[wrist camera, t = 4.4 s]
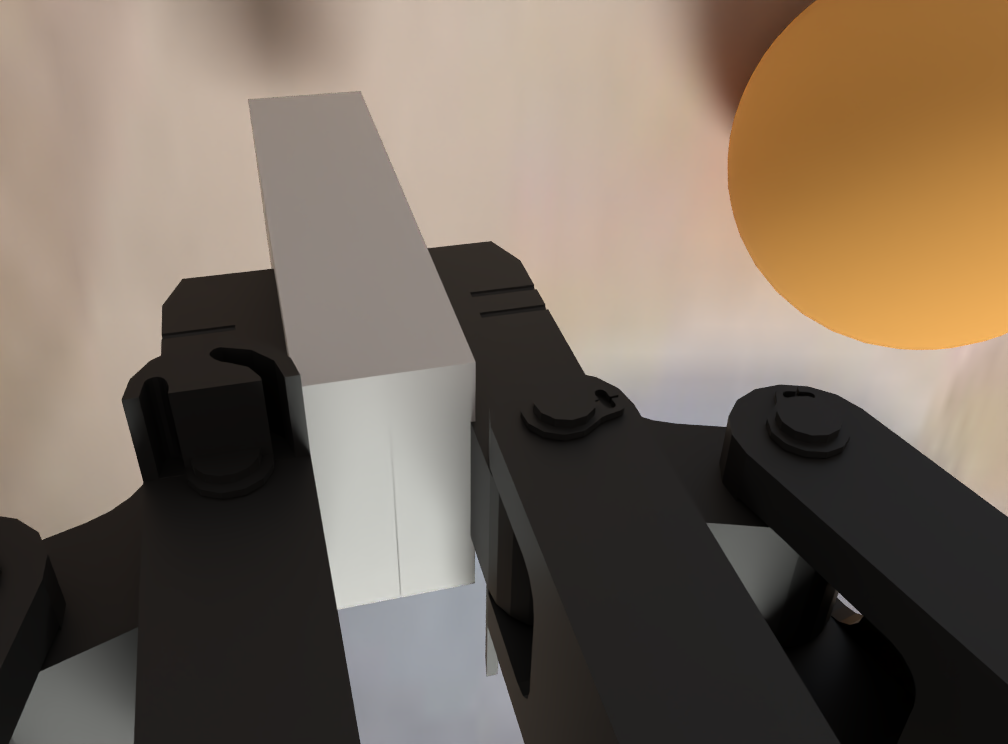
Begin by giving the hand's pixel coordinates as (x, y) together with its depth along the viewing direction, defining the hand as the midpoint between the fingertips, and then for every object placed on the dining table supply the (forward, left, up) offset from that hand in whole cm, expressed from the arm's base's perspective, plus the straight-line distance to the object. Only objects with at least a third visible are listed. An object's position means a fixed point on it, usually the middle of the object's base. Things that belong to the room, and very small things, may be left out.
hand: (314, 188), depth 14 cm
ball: (+9, 0, +1) cm, 9 cm away
